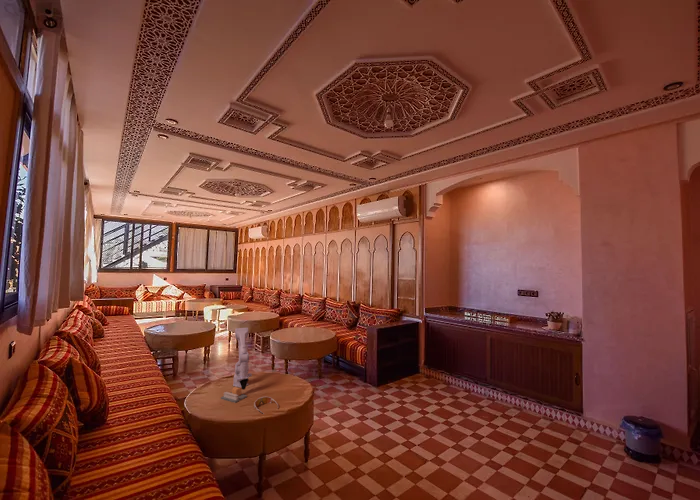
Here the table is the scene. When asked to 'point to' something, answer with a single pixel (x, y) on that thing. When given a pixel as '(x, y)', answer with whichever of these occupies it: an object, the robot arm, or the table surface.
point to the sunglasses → (263, 401)
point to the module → (237, 390)
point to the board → (233, 397)
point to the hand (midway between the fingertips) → (243, 389)
